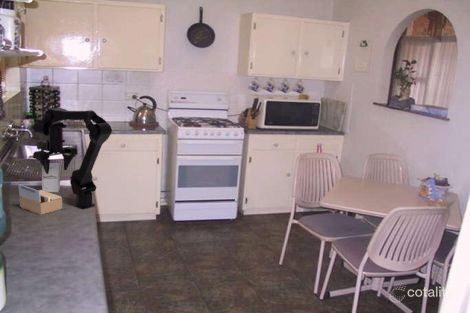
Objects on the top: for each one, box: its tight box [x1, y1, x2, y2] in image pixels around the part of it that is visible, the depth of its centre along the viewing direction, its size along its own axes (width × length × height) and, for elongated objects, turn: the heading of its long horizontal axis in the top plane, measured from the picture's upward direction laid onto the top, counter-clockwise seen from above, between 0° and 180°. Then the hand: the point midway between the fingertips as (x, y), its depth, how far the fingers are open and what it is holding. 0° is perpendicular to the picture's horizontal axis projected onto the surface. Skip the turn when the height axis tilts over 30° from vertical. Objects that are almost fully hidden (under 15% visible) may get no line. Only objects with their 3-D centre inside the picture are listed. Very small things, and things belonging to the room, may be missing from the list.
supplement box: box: [41, 162, 61, 193], centre depth 207 cm, size 7×7×13 cm
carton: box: [19, 189, 63, 215], centre depth 183 cm, size 14×10×7 cm
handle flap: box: [17, 183, 41, 202], centre depth 178 cm, size 14×5×1 cm
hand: (56, 171), depth 194 cm, fingers open, 9 cm apart
